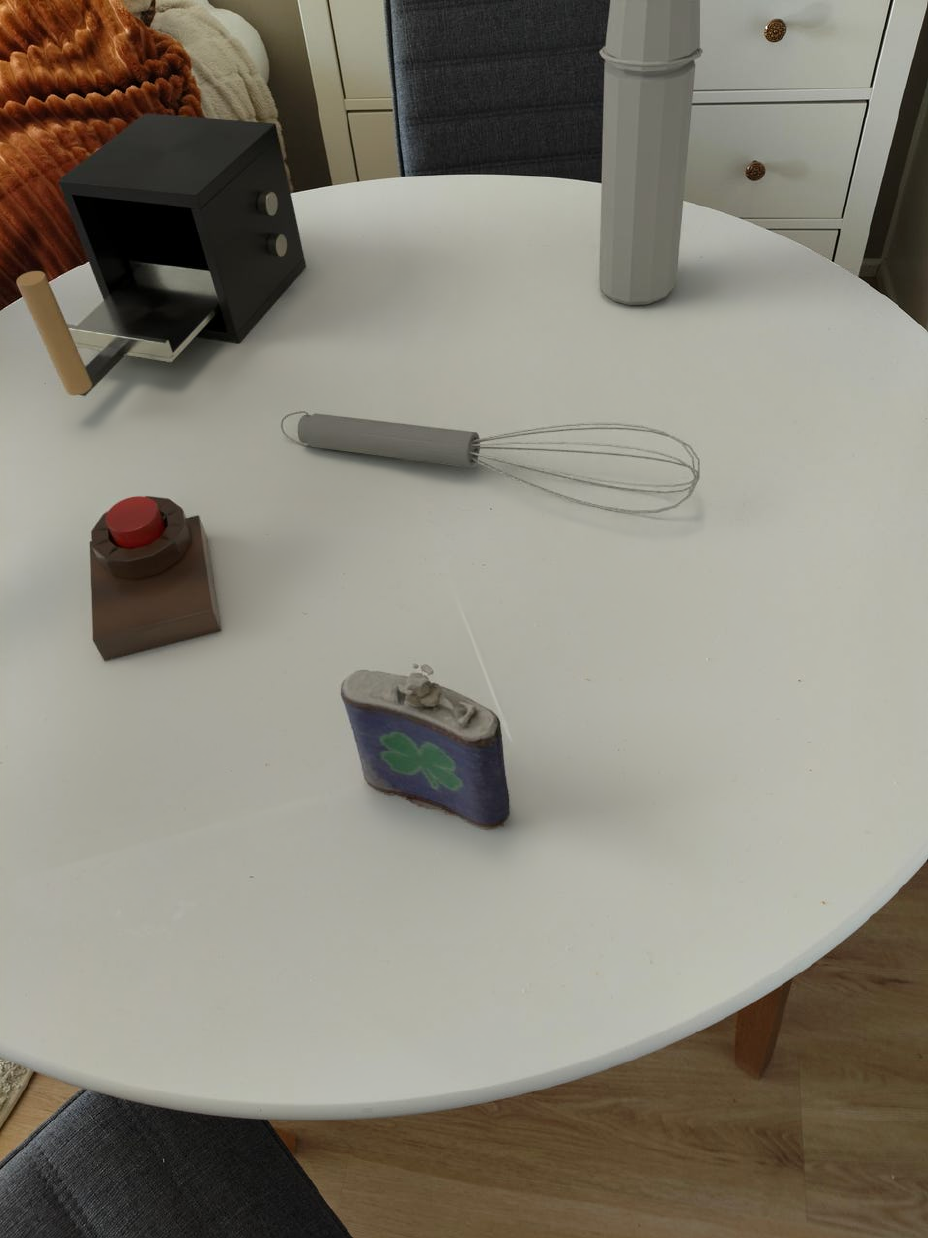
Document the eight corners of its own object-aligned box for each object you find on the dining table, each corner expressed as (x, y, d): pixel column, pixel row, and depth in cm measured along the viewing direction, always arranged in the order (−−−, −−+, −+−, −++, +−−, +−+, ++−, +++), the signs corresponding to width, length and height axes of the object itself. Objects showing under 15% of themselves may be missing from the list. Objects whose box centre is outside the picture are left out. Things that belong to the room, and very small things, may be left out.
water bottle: (672, 314, 89) (699, 0, 70) (586, 305, 91) (591, -2, 72) (689, 261, 95) (719, -42, 76) (608, 254, 97) (617, -43, 78)
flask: (357, 785, 59) (324, 673, 51) (380, 747, 61) (352, 632, 53) (500, 838, 56) (489, 727, 48) (520, 796, 57) (513, 682, 49)
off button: (113, 521, 71) (104, 503, 70) (163, 509, 71) (155, 490, 70) (115, 555, 69) (106, 536, 67) (166, 542, 69) (159, 523, 68)
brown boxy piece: (99, 551, 74) (79, 511, 71) (205, 525, 75) (190, 485, 72) (104, 661, 67) (82, 622, 64) (221, 631, 68) (205, 591, 65)
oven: (113, 324, 96) (56, 180, 85) (187, 251, 104) (145, 112, 93) (248, 344, 91) (207, 195, 81) (315, 267, 100) (285, 123, 89)
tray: (19, 389, 84) (-37, 277, 76) (138, 276, 95) (100, 168, 88) (129, 409, 81) (82, 294, 73) (239, 290, 92) (209, 179, 84)
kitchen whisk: (300, 415, 83) (284, 351, 79) (703, 488, 74) (713, 420, 69) (266, 461, 80) (247, 396, 75) (685, 544, 70) (694, 476, 65)
